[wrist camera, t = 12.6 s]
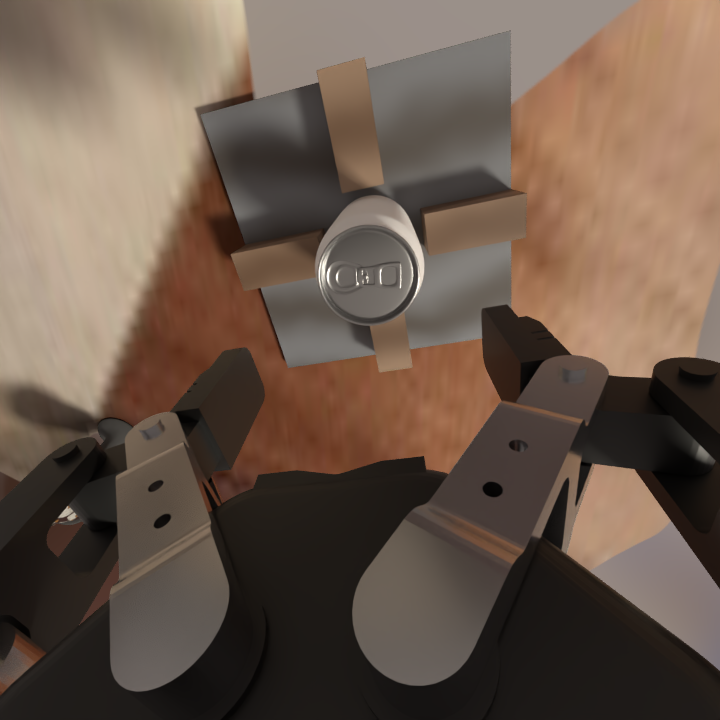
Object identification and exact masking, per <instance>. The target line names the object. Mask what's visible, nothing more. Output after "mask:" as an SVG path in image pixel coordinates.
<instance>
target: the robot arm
mask: <svg viewBox="0 0 720 720" xmlns="http://www.w3.org/2000/svg"><path fill="white" fill-rule="evenodd" d="M481 322H482V345H483V358H484V363H485V367H486V370H487V372H488V374H489V376H490V378H491V380H492V382H493V384H494V386H495V388H496V390H497V392H498V394H499V396H500V398H501V400H502V401H501V402H500V403H499V405H498V406H497V407H496V409H495V410H494V411H493V413H492V414H491V416H490V417H489V418H488V420H487V421H486V423H485V424H484V425H483V427H482V428H481V430H480V431H479V432H478V434H477V435H476V437H475V438H474V439H473V441H472V442H471V444H470V445H469V446H468V448H467V449H466V451H465V452H464V453H463V455H462V456H461V458H460V459H459V460H458V462H457V463H456V465H455V466H454V467H453V469H452V470H451V472H450V473H449V474H447V473H444V472H439V471H434V470H426V466H425V460H424V456H422V457H413V458H404V459H395V460H386V461H380V462H377V463H373V464H370V465H367V466H364V467H361V468H357V469H354V470H351V471H348V472H345V473H341V474H325V473H316V472H307V471H298V470H297V471H288V472H279V473H270V474H261V475H258V477H257V480H256V482H255V485H254V488H253V489H250V490H248V491H245V492H243V493H241V494H239V495H237V496H235V497H233V498H231V499H229V500H228V501H226V502H223V500H222V497H221V495H220V493H219V490H218V488H217V485H216V483H215V481H214V480H213V478H212V476H211V475H212V474H213V472H214V471H222V470H231V468H232V466H233V464H234V462H235V460H236V458H237V456H238V454H239V452H240V450H241V447H242V445H243V443H244V441H245V439H246V437H247V435H248V433H249V431H250V429H251V427H252V424H253V422H254V420H255V418H256V416H257V414H258V412H259V410H260V408H261V406H262V404H263V401H264V396H265V393H264V386H263V383H262V381H261V378H260V376H259V373H258V371H257V368H256V366H255V363H254V361H253V358H252V356H251V353H250V352H249V350H248V349H247V348H245V347H244V348H238V349H232V350H226V351H223V352H222V353H221V355H220V356H219V357H218V358H217V360H216V361H215V362H214V363H213V365H212V366H211V367H210V368H209V369H208V370H206V371H205V372H204V373H202V374H201V375H200V376H199V377H198V378H197V379H196V381H195V382H194V383H193V385H192V386H191V387H190V388H189V389H188V390H187V393H185V394H184V395H183V397H182V398H181V399H180V400H179V401H178V403H177V404H176V405H175V406H174V407H173V409H172V410H171V411H170V412H165V413H160V414H157V415H154V416H152V417H149V418H147V419H145V420H143V421H142V422H140V423H139V424H137V425H136V426H135V427H133V428H132V429H131V430H130V431H129V432H128V434H127V435H126V437H125V443H123V444H120V445H117V446H114V447H111V448H108V449H105V450H103V449H102V447H101V446H100V445H99V443H98V442H97V441H96V439H95V438H92V437H87V438H82V439H78V440H75V441H73V442H70V443H68V444H66V445H64V446H62V447H60V448H59V449H57V450H56V451H54V452H53V453H51V454H50V455H49V456H47V457H46V458H45V459H44V460H43V461H42V462H41V463H40V464H39V465H38V466H37V467H36V468H35V469H34V470H33V471H31V472H30V473H29V474H28V475H27V476H26V477H25V478H24V479H23V480H22V481H21V482H20V483H19V484H18V485H17V486H16V487H15V488H14V489H13V490H12V491H11V492H10V493H9V494H7V495H6V496H5V497H4V498H3V499H2V500H1V501H0V720H720V671H719V670H718V669H717V668H716V667H715V666H713V665H712V664H711V663H710V662H709V661H708V660H706V659H705V658H704V657H703V656H701V655H700V654H699V653H698V652H696V651H695V650H694V649H692V648H691V647H690V646H689V645H687V644H686V643H684V642H683V641H682V640H680V639H679V638H678V637H676V636H675V635H674V634H672V633H671V632H670V631H668V630H667V629H666V628H664V627H663V626H662V625H660V624H659V623H658V622H656V621H655V620H654V619H652V618H651V617H650V616H648V615H647V614H646V613H644V612H643V611H642V610H640V609H639V608H638V607H636V606H635V605H634V604H632V603H631V602H630V601H628V600H627V599H626V598H624V597H623V596H622V595H620V594H619V593H618V592H616V591H615V590H613V589H612V588H611V587H610V586H608V585H607V584H606V583H604V582H603V581H602V580H600V579H599V578H598V577H596V576H595V575H594V574H592V573H591V572H590V571H588V570H587V569H586V568H584V567H583V566H582V565H580V564H579V563H578V562H576V561H575V560H574V559H572V558H571V557H570V556H568V555H567V551H568V547H569V543H570V539H571V535H572V530H573V526H574V523H575V519H576V516H577V514H578V511H579V508H580V505H581V503H582V500H583V497H584V494H585V491H586V489H587V486H588V483H589V480H590V478H591V475H592V472H593V469H594V466H595V464H600V465H608V466H616V467H623V468H631V469H635V470H636V472H637V473H638V475H639V476H640V478H641V479H642V480H643V482H644V483H645V485H646V486H647V487H648V489H649V490H650V492H651V493H652V494H653V496H654V497H655V499H656V500H657V501H658V503H659V504H660V506H661V507H662V508H663V510H664V511H665V513H666V514H667V515H668V517H669V518H670V520H671V521H672V522H673V524H674V525H675V527H676V528H677V529H678V531H679V532H680V534H681V535H682V536H683V538H684V539H685V541H686V542H687V543H688V545H689V546H690V548H691V549H692V551H693V552H694V553H695V555H696V556H697V558H698V559H699V560H700V562H701V563H702V565H703V566H704V567H705V569H706V570H707V572H708V573H709V574H710V576H711V577H712V579H713V580H714V581H715V583H716V584H717V586H718V587H719V588H720V363H718V362H714V361H711V360H706V359H699V358H689V357H679V358H670V359H666V360H663V361H660V362H659V363H657V364H656V365H655V366H654V369H653V373H652V378H640V377H619V376H610V375H609V372H608V369H607V368H606V367H605V366H604V365H603V364H602V363H600V362H598V361H596V360H594V359H591V358H588V357H583V356H576V355H571V354H570V353H569V351H568V350H567V349H566V348H565V347H564V346H563V345H562V344H561V343H560V342H559V341H558V340H557V339H556V338H554V336H553V335H552V334H551V333H550V332H549V331H548V329H547V328H546V327H545V326H544V325H543V324H542V323H541V322H539V321H537V320H535V319H532V318H530V317H528V316H525V317H518V316H517V315H516V314H515V313H514V312H513V310H512V309H511V308H510V307H509V306H508V305H507V304H505V305H499V306H493V307H487V308H482V311H481ZM67 506H69V507H70V508H71V509H72V510H73V511H74V513H75V514H76V515H77V516H78V517H79V518H80V519H81V520H82V522H84V524H83V525H82V527H81V528H80V529H79V531H78V532H77V533H76V535H75V536H74V537H73V539H72V540H71V541H70V543H69V544H68V545H67V547H66V548H65V549H64V551H63V552H62V553H61V555H60V556H59V557H57V556H56V555H55V554H54V553H53V552H52V551H51V550H50V549H49V548H48V546H47V541H46V539H47V533H48V531H49V528H50V527H51V526H52V524H53V523H54V522H55V521H56V520H57V518H58V517H59V516H60V515H61V514H62V512H63V511H64V510H65V509H66V508H67ZM118 559H119V581H118V582H117V583H116V584H115V585H113V587H112V589H111V592H110V599H109V600H108V601H107V602H106V603H105V604H104V605H102V606H101V607H100V608H99V609H98V610H96V611H95V612H94V613H93V614H92V615H91V616H89V617H88V618H87V619H86V620H85V621H84V622H83V623H81V624H80V622H81V621H82V619H83V617H84V615H85V614H86V612H87V611H88V609H89V607H90V606H91V604H92V602H93V601H94V599H95V597H96V596H97V594H98V592H99V590H100V589H101V587H102V585H103V583H104V582H105V580H106V579H107V577H108V575H109V574H110V572H111V570H112V569H113V567H114V565H115V564H116V562H117V560H118ZM79 624H80V625H79Z"/></svg>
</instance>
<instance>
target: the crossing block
mask: <svg viewBox="0 0 720 720" xmlns="http://www.w3.org/2000/svg"><path fill="white" fill-rule="evenodd" d="M317 75H318V80H319V83H315V84H312V85H308V86H304V87H300V88H296V89H293V90H289V91H285V92H282V93H278V94H275V95H271V96H267V97H263V98H260V99H256V100H252V101H249V102H245V103H241V104H237V105H234V106H230V107H226V108H223V109H219V110H215V111H212V112H208V113H204V114H201V118H202V121H203V124H204V127H205V130H206V132H207V135H208V138H209V141H210V144H211V147H212V150H213V153H214V155H215V158H216V161H217V164H218V167H219V170H220V173H221V176H222V178H223V181H224V184H225V187H226V190H227V193H228V196H229V199H230V202H231V204H232V207H233V210H234V213H235V216H236V219H237V222H238V225H239V227H240V230H241V233H242V236H243V239H244V242H245V245H244V246H243V247H241V248H240V249H238V250H237V251H235V252H233V253H232V254H231V257H232V260H233V262H234V265H235V268H236V270H237V273H238V276H239V278H240V281H241V284H242V286H243V289H244V291H247V290H252V289H257V288H261V291H262V294H263V296H264V299H265V302H266V305H267V308H268V311H269V314H270V317H271V320H272V322H273V325H274V328H275V331H276V334H277V337H278V340H279V343H280V345H281V348H282V351H283V354H284V357H285V360H286V363H287V366H288V368H290V367H297V366H304V365H310V364H317V363H323V362H330V361H336V360H343V359H349V358H356V357H362V356H369V355H376V359H377V364H378V368H379V372H385V371H392V370H399V369H406V368H413V367H412V360H411V353H410V349H415V348H421V347H428V346H434V345H441V344H448V343H454V342H461V341H467V340H474V339H480V338H482V322H481V311H482V308H487V307H493V306H499V305H505V304H507V305H508V306H509V307H510V308H511V240H517V239H522V238H526V206H527V193H524V192H520V191H516V190H512V189H511V31H507V32H503V33H499V34H496V35H492V36H488V37H485V38H481V39H477V40H473V41H470V42H466V43H463V44H459V45H455V46H451V47H448V48H444V49H440V50H437V51H433V52H429V53H426V54H422V55H418V56H415V57H411V58H407V59H403V60H400V61H396V62H393V63H389V64H385V65H382V66H378V67H374V68H370V69H367V68H366V63H365V58H364V57H363V58H360V59H356V60H352V61H349V62H345V63H342V64H338V65H334V66H331V67H327V68H324V69H320V70H317ZM369 195H379V196H384V197H387V198H390V199H392V200H393V201H395V202H396V203H398V204H399V205H400V206H401V207H402V208H403V209H404V211H405V212H406V213H407V215H408V217H409V219H410V221H411V223H412V226H413V228H414V230H415V233H416V235H417V238H418V240H419V243H420V246H421V249H422V252H423V257H424V276H423V281H422V284H421V287H420V290H419V292H418V294H417V295H416V297H415V298H414V300H413V302H412V303H411V305H410V306H409V307H408V308H407V310H406V311H405V312H403V313H402V314H401V315H400V316H398V317H397V318H395V319H394V320H392V321H390V322H387V323H384V324H380V325H374V326H363V325H357V324H354V323H351V322H348V321H346V320H344V319H342V318H341V317H339V316H338V315H337V314H335V313H334V312H333V311H332V310H331V309H330V308H329V307H328V305H327V304H326V302H325V301H324V299H323V297H322V295H321V292H320V289H319V286H318V283H317V280H316V274H315V260H316V254H317V251H318V248H319V245H320V243H321V241H322V239H323V237H324V235H325V234H326V232H327V231H328V230H329V228H330V227H331V225H332V224H333V223H334V221H335V220H336V219H337V217H338V216H339V215H340V214H341V212H342V211H343V210H344V209H345V208H346V207H347V206H348V205H349V204H350V203H351V202H353V201H354V200H356V199H358V198H361V197H364V196H369Z"/></svg>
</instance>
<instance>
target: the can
mask: <svg viewBox="0 0 720 720" xmlns="http://www.w3.org/2000/svg"><path fill="white" fill-rule="evenodd" d="M315 274H316V280H317V283H318V286H319V289H320V292H321V295H322V297H323V299H324V301H325V302H326V304H327V305H328V307H329V308H330V309H331V310H332V311H333V312H334V313H335V314H337V315H338V316H339V317H341V318H342V319H344V320H346V321H348V322H351V323H354V324H357V325H363V326H374V325H380V324H384V323H387V322H390V321H392V320H394V319H395V318H397V317H398V316H400V315H401V314H402V313H403V312H405V311H406V310H407V308H408V307H409V306H410V305H411V303H412V302H413V300H414V298H415V297H416V295H417V294H418V292H419V290H420V287H421V284H422V281H423V276H424V257H423V252H422V249H421V246H420V243H419V240H418V238H417V235H416V233H415V230H414V228H413V226H412V223H411V221H410V219H409V217H408V215H407V213H406V212H405V211H404V209H403V208H402V207H401V206H400V205H399V204H398V203H396V202H395V201H393V200H392V199H390V198H387V197H384V196H379V195H369V196H364V197H361V198H358V199H356V200H354V201H353V202H351V203H350V204H349V205H348V206H347V207H346V208H345V209H344V210H343V211H342V212H341V214H340V215H339V216H338V217H337V219H336V220H335V221H334V223H333V224H332V225H331V227H330V228H329V230H328V231H327V232H326V234H325V235H324V237H323V239H322V241H321V243H320V245H319V248H318V251H317V254H316V260H315Z"/></svg>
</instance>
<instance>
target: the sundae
mask: <svg viewBox="0 0 720 720" xmlns="http://www.w3.org/2000/svg"><path fill="white" fill-rule="evenodd" d="M132 428H133V427H132V426H131V425H129V424H128V423H126V422H124V421H122V420H119V419H113V418H108V419H104V420H102V421H101V422H100V423H99V424H98V432H99V435H100V437H101V438H102V439H103V440H104V442H103V443H102V444H101V445H100V446H101V447H102V449H103V450H105V449H108V448H111V447H114V446H117V445H120V444H123V443H125V437H126V435H127V434H128V432H129V431H130V430H131V429H132ZM81 521H82V520H81V519H80V518H79V517H78V516H77V515H76V514H75V513H74V511H73V510H72V509H71V508H70V507H69V506H67V508H66V509H65V510H64V511H63V512H62V514H61V515H60V516H59V517H58V518H57V520H56V521H55V522H54V523H53V524H52V525H54V524H57V523H58V524H63V525H72V524H76V523H79V522H81Z"/></svg>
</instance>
